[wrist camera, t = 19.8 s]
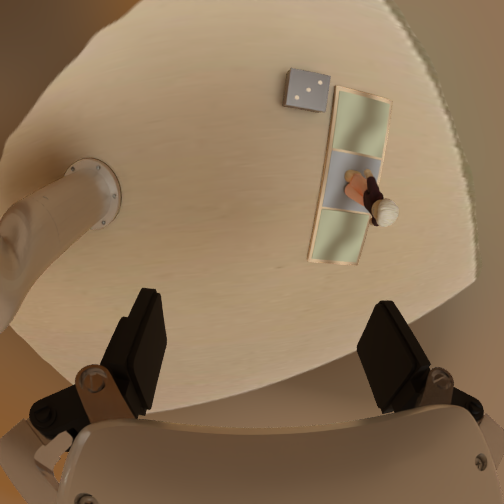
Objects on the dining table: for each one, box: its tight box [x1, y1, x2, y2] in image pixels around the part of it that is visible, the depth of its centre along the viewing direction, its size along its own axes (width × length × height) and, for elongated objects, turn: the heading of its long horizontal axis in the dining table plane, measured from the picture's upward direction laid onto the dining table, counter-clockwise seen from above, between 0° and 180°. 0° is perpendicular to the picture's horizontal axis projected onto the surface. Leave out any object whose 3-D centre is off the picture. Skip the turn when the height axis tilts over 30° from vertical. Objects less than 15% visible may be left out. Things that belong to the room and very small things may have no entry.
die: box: [283, 68, 331, 112], centre depth 31 cm, size 5×5×5 cm
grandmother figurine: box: [344, 169, 399, 227], centre depth 32 cm, size 8×4×13 cm, turn 26°
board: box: [307, 86, 393, 266], centre depth 38 cm, size 9×28×1 cm, turn 175°
